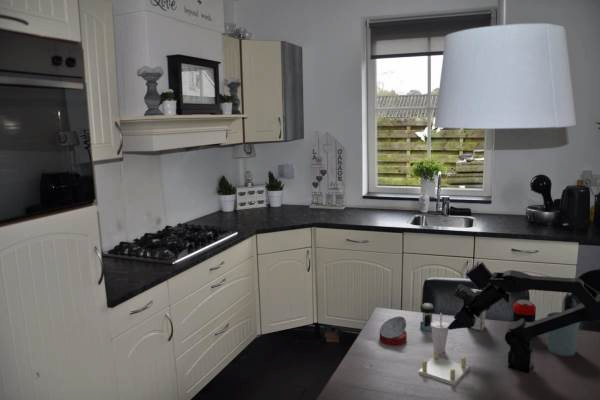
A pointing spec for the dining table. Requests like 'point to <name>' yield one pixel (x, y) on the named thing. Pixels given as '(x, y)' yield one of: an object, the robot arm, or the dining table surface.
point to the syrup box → (479, 319)
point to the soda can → (524, 311)
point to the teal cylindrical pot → (563, 339)
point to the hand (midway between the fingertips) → (451, 323)
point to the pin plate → (444, 369)
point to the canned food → (394, 332)
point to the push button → (427, 316)
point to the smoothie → (439, 334)
